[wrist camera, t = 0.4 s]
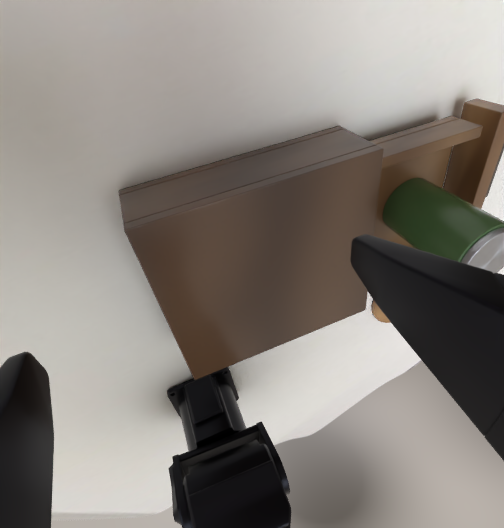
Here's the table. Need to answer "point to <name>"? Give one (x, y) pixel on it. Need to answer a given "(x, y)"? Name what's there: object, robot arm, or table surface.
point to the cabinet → (256, 244)
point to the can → (445, 225)
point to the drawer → (444, 157)
